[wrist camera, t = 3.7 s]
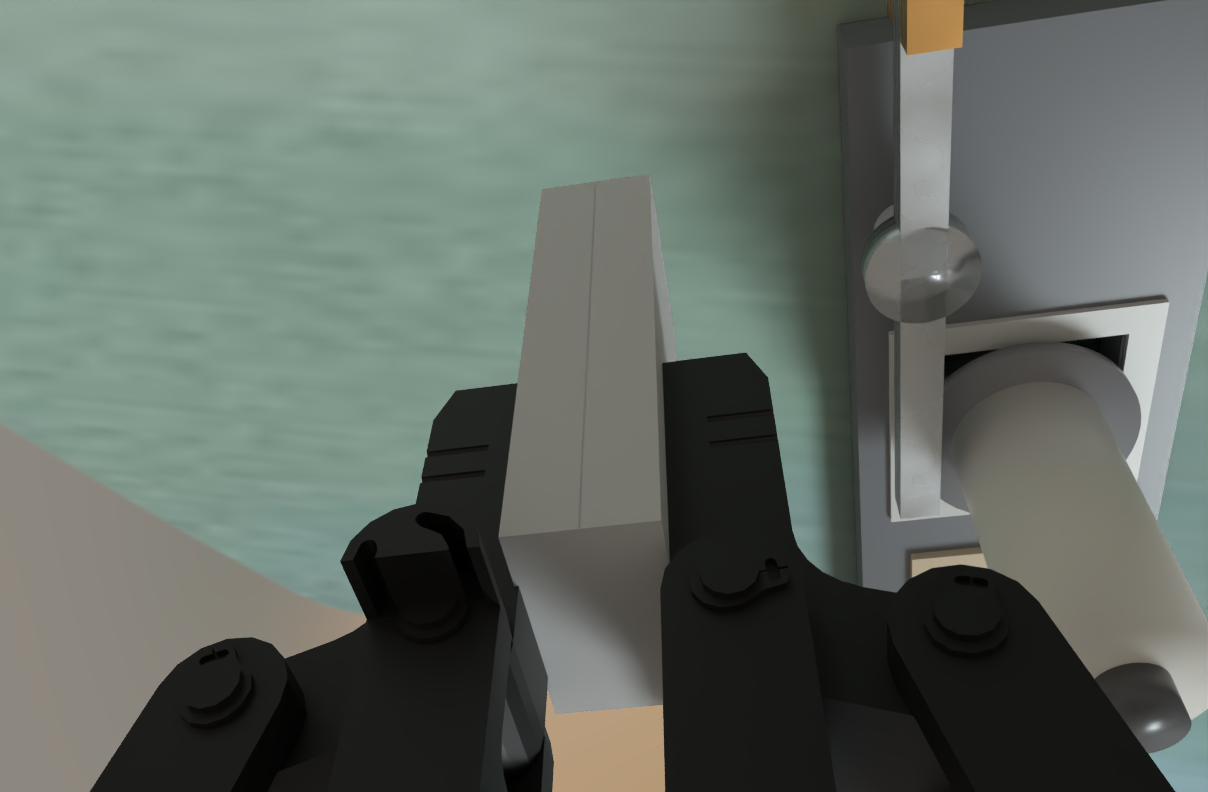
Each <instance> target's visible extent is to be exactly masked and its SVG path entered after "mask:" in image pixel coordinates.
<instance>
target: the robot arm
mask: <svg viewBox="0 0 1208 792" xmlns="http://www.w3.org/2000/svg"><path fill="white" fill-rule="evenodd" d="M427 455H428V457H427V458H425V463H424V468H423V472H422V483H420V486H419V491H418V496H417V501H416V504H414V505H410V506H406V507H402V508H398V509H394V510H392V511H390V512H388V513H387V514H385V515H383V516H381V517H379V518H377V519H375V520H374V521H372V522H370V523H369V524H368V525H367V526H366V527H365V528H363V529H362V530H361V531H360V532H359V533H358V534H357V535H356V536H355V537H354V538H353V539H352V540H351V541H350V543H349V545H348V547H347V549H346V551H345V553H344V555H343V557H342V559H341V561H340V562H341V564H342V566H343V569H344V571H345V573H346V575H347V577H348V579H349V582H350V584H351V586H352V588H353V590H354V592H355V595H356V597H357V599H358V601H359V603H360V605H361V608H362V610H363V612H364V614H365V616H366V618H367V621H366V623H365V624H363V625H362V626H360V627H359V628H357V629H356V630H355V631H353V632H351V633H349V634H347V635H345V636H343V637H340V638H338V639H336V640H334V641H331V642H329V643H326V644H324V645H321V646H318V647H315V648H313V649H310V650H307V651H304V652H302V653H299V654H296V655H294V656H291V657H288V658H286V659H285V658H284V657H283V656H282V655H281V654H280V653H279V652H278V650H277V649H276V648H275V647H274V646H273V645H272V644H270V643H267V642H264V641H261V640H258V639H255V638H252V637H251V638H235V639H226V640H223V641H220V642H218V643H215V644H212V645H209V646H207V647H204V648H201V649H200V650H199V651H197V652H195V653H194V654H192V655H191V656H190V657H188V658H187V659H185V660H184V661H182V662H181V663H179V664H178V665H177V666H176V667H175V668H174V669H173V670H172V672H171V673H170V674H169V675H168V676H167V677H166V678H165V679H164V681H163V682H162V683H161V684H160V685H159V686H158V688H157V690H156V691H155V692H154V694H153V696H152V697H151V699H150V700H149V702H148V703H147V705H146V707H145V708H144V709H143V711H142V713H141V714H140V716H139V717H138V719H137V720H136V722H135V723H134V725H133V726H132V728H131V729H130V731H129V732H128V734H127V735H126V737H125V739H124V740H123V742H122V743H121V745H120V746H119V748H118V749H117V751H116V752H115V754H114V756H113V757H112V758H111V760H110V762H109V763H108V765H107V766H106V768H105V769H104V771H103V772H102V774H101V775H100V777H99V778H98V780H97V781H96V783H95V785H94V786H93V788H92V789H91V791H90V792H552V783H553V766H554V761H553V755H552V749H551V743H550V740H549V737H548V734H547V731H546V728H545V714H546V713H545V712H546V699H547V689H548V692H549V695H550V698H551V701H552V704H553V707H554V710H555V713H556V714H559V713H572V712H583V711H595V710H606V709H618V708H628V707H629V708H630V707H641V706H653V705H663V718H664V758H665V792H1175V791H1174V789H1173V788H1172V787H1171V785H1170V784H1169V782H1168V781H1167V780H1166V778H1165V777H1164V775H1163V774H1162V773H1161V771H1160V770H1159V768H1158V767H1157V766H1156V764H1155V763H1154V761H1153V760H1152V759H1151V757H1150V756H1149V754H1148V753H1147V752H1146V750H1145V749H1144V747H1143V746H1142V745H1141V743H1140V742H1139V740H1138V739H1137V738H1136V736H1135V735H1134V734H1133V732H1132V731H1131V729H1130V728H1129V727H1128V725H1127V724H1126V722H1125V721H1124V720H1123V718H1122V717H1121V715H1120V714H1119V713H1118V711H1117V710H1116V708H1115V707H1114V706H1113V704H1112V703H1111V701H1110V700H1109V699H1108V697H1107V696H1106V694H1105V693H1104V692H1103V690H1102V689H1101V687H1100V686H1099V685H1098V683H1097V682H1096V680H1095V679H1094V678H1093V676H1092V675H1091V674H1090V672H1089V671H1088V669H1087V668H1086V667H1085V665H1084V664H1083V662H1082V661H1081V660H1080V658H1079V657H1078V655H1077V654H1076V653H1075V651H1074V650H1073V648H1072V647H1071V646H1070V644H1069V643H1068V641H1067V640H1066V639H1065V637H1064V636H1063V634H1062V633H1061V632H1060V630H1059V629H1058V627H1057V626H1056V625H1055V623H1054V622H1053V620H1052V619H1051V618H1050V616H1049V615H1048V614H1047V612H1046V611H1045V609H1044V608H1043V607H1042V605H1041V604H1040V602H1039V601H1038V600H1037V599H1036V598H1035V597H1034V596H1033V595H1032V594H1031V593H1030V592H1028V591H1027V590H1026V589H1025V588H1024V587H1023V586H1022V585H1021V584H1020V583H1019V582H1018V581H1016V580H1013V579H1011V578H1009V577H1007V576H1005V575H1003V574H1001V573H998V572H996V571H994V570H992V569H988V568H981V567H975V566H969V565H962V564H959V565H952V566H944V567H936V568H931V569H929V570H927V571H925V572H923V573H921V574H919V575H917V576H915V577H912V578H910V579H908V580H907V581H906V583H905V584H904V585H903V586H902V587H901V588H900V589H899V591H898V592H897V593H896V592H890V591H884V590H878V589H872V588H866V587H861V586H857V585H854V584H850V583H846V582H842V581H840V580H838V579H836V578H834V577H832V576H830V575H828V574H826V573H823V572H822V571H821V570H819V569H818V568H817V567H816V566H814V565H813V564H812V563H811V562H809V561H808V560H807V558H806V557H805V556H804V554H803V553H802V552H801V550H800V549H799V547H798V546H797V543H796V540H795V537H794V534H793V531H792V526H791V519H790V513H789V507H788V500H787V494H786V488H785V482H784V475H783V469H782V463H781V456H780V450H779V444H778V439H777V431H776V425H775V419H774V414H773V406H772V400H771V394H770V387H769V381H768V377H767V376H766V375H765V374H764V373H763V372H762V370H761V369H760V368H759V367H758V366H757V365H756V364H755V362H754V361H753V360H752V359H751V358H750V357H749V356H748V354H747V353H739V354H731V355H723V356H715V357H706V358H698V359H690V360H682V361H676V343H675V331H674V325H673V319H672V312H671V306H670V299H669V293H668V287H667V280H666V274H665V267H664V261H663V255H662V248H661V242H660V235H659V229H658V223H657V216H656V210H655V203H654V197H653V190H652V184H651V178H650V174H646V175H639V176H632V177H625V178H618V179H611V180H604V181H597V182H590V183H583V184H576V185H569V186H562V187H555V188H548V189H542V193H541V201H540V209H539V217H538V225H537V233H536V241H535V249H534V257H533V265H532V273H531V281H530V289H529V297H528V305H527V313H526V321H525V329H524V337H523V345H522V353H521V361H520V369H519V377H518V383H516V384H508V385H500V386H491V387H483V388H475V389H467V390H459V391H455V393H454V394H453V395H452V397H451V398H450V399H449V401H448V402H447V403H446V404H445V406H444V407H443V408H442V410H441V411H440V412H439V414H438V415H437V416H436V418H435V419H434V420H433V425H432V430H431V434H430V439H429V444H428V449H427Z"/></svg>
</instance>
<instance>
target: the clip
mask: <svg viewBox="0 0 1208 792" xmlns="http://www.w3.org/2000/svg"><path fill="white" fill-rule="evenodd" d="M963 14H964V0H887V15H888V17H889V19H890V21H891V23H892V25H893V202H894V216H892V217H890V218H888V219H887V220H885V221H884V222H883V223H881V224H880V225H879V226H878V227H877V228H876V229H875V230H874V231H873V232H872V233H871V235H870V236H869V237H868V239H867V241H866V242H865V244H864V247H863V249H862V253H861V258H860V267H861V273H862V276H863V280H864V283H865V287H866V290H867V293H868V297H869V299H870V301H871V303H872V304H873V305H874V307H875V308H876V309H877V310H878V311H879V312H880V313H882V314H883V315H885V316H886V317H888V318H890V319H893V320H894V414H895V499H896V503H897V507H898V511H899V515H900V519H907V518H917V517H927V516H937V515H940V488H941V455H942V422H943V389H944V356H945V324H946V316H948V315H950V314H952V313H953V312H955V311H956V310H958V309H959V308H960V307H962V306H963V305H964V304H965V303H966V302H967V301H968V300H969V299H970V298H971V296H972V295H973V294H974V292H975V291H976V289H977V287H978V285H979V282H980V279H981V275H982V261H981V257H980V254H979V251H978V249H977V247H976V245H975V243H974V240H973V238H972V236H971V234H970V232H969V230H968V228H967V227H966V225H965V224H964V223H963V222H962V221H961V220H960V219H959V218H958V217H956V216H954V215H953V214H951V213H949V192H950V159H951V127H952V94H953V61H954V48H961V47H962V42H963Z"/></svg>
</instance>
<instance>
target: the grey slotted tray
mask: <svg viewBox="0 0 1208 792" xmlns="http://www.w3.org/2000/svg"><path fill="white" fill-rule="evenodd" d="M837 34H838V61H839V89H840V117H841V144H842V172H843V200H844V227H845V255H846V282H847V310H848V338H849V365H850V393H851V420H852V448H853V476H854V503H855V531H856V558H857V586H861V587H866V588H872V589H878V590H884V591H890V592H896V593H897V592H898V591H899V589H900V588H901V587H902V586H903V585H904V584H905V583H906V581H907V580H908V579H910V578H912V577H915V576H917V575H919V574H921V573H923V572H925V571H927V570H929V569H931V568H936V567H944V566H952V565H959V564H962V565H969V566H975V567H981V568H988V567H987V564H986V561H985V558H984V555H983V552H982V549H981V546H980V543H979V540H978V537H977V534H976V531H975V528H974V525H973V522H972V518H971V515H970V513H969V512H966V511H963V510H960V509H958V508H955V507H953V506H951V505H949V504H947V503H946V502H944V501H943V500H941V499H940V515H937V516H927V517H917V518H907V519H900V515H899V511H898V507H897V503H896V499H895V414H894V320H893V319H890V318H888V317H886V316H885V315H883V314H882V313H880V312H879V311H878V310H877V309H876V308H875V307H874V305H873V304H872V303H871V301H870V299H869V297H868V293H867V290H866V287H865V283H864V280H863V276H862V273H861V267H860V258H861V253H862V249H863V247H864V244H865V242H866V241H867V239H868V237H869V236H870V235H871V233H872V232H873V231H874V230H875V229H876V228H877V227H878V226H879V225H880V224H881V223H883V222H884V221H885V220H887V219H888V218H890V217H892V216H894V202H893V25H892V23H891V21H890V19H889V17H887V18H880V19H874V20H867V21H861V22H854V23H848V24H841V25H837ZM949 213H951V214H953V215H954V216H956V217H958V218H959V219H960V220H961V221H962V222H963V223H964V224H965V225H966V227H967V228H968V230H969V232H970V234H971V236H972V238H973V240H974V243H975V245H976V247H977V249H978V251H979V254H980V257H981V261H982V275H981V279H980V282H979V285H978V287H977V289H976V291H975V292H974V294H973V295H972V296H971V298H970V299H969V300H968V301H967V302H966V303H965V304H964V305H963V306H962V307H960V308H959V309H958V310H956V311H955V312H953V313H952V314H950V315H948V316H946V324H945V355H951V354H960V353H968V352H977V351H986V350H995V349H1002V348H1006V347H1010V346H1014V345H1019V344H1025V343H1034V342H1064V341H1073V340H1082V339H1090V338H1099V337H1101V341H1100V348H1099V353H1100V354H1102V355H1103V356H1105V357H1107V358H1108V359H1110V360H1111V361H1112V362H1113V363H1115V364H1116V365H1117V366H1118V367H1119V368H1120V369H1121V370H1122V371H1123V373H1124V374H1125V375H1126V376H1127V378H1128V380H1129V382H1130V384H1131V385H1132V387H1133V389H1134V391H1135V393H1136V395H1137V397H1138V400H1139V404H1140V408H1141V427H1140V431H1139V435H1138V439H1137V441H1136V443H1135V446H1134V448H1133V450H1132V451H1131V453H1130V455H1129V456H1128V458H1127V459H1126V462H1127V463H1128V465H1129V467H1130V469H1131V471H1132V473H1133V475H1134V477H1135V479H1136V481H1137V483H1138V485H1139V487H1140V489H1141V491H1142V493H1143V495H1144V497H1145V499H1146V501H1147V503H1148V505H1149V507H1150V509H1151V511H1152V513H1153V515H1154V516H1155V518H1156V520H1157V519H1158V514H1159V509H1160V504H1161V499H1162V494H1163V489H1164V484H1165V480H1166V475H1167V470H1168V465H1169V460H1170V455H1171V450H1172V445H1173V440H1174V435H1175V430H1176V425H1177V420H1178V415H1179V410H1180V405H1181V401H1182V396H1183V391H1184V386H1185V381H1186V376H1187V371H1188V366H1189V361H1190V356H1191V351H1192V346H1193V341H1194V336H1195V331H1196V326H1197V322H1198V317H1199V312H1200V307H1201V302H1202V297H1203V292H1204V287H1205V282H1206V277H1207V272H1208V0H999V1H992V2H986V3H979V4H972V5H966V6H964V14H963V42H962V47H961V48H954V61H953V94H952V127H951V159H950V192H949Z"/></svg>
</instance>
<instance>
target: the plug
mask: <svg viewBox="0 0 1208 792" xmlns="http://www.w3.org/2000/svg"><path fill="white" fill-rule="evenodd" d="M1140 427H1141V408H1140V404H1139V400H1138V397H1137V395H1136V393H1135V391H1134V389H1133V387H1132V385H1131V384H1130V382H1129V380H1128V378H1127V376H1126V375H1125V374H1124V373H1123V371H1122V370H1121V369H1120V368H1119V367H1118V366H1117V365H1116V364H1115V363H1113V362H1112V361H1111V360H1110V359H1108V358H1107V357H1105V356H1103V355H1102V354H1100V353H1098V352H1095V351H1093V350H1091V349H1088V348H1085V347H1082V346H1078V345H1074V344H1068V343H1062V342H1034V343H1025V344H1019V345H1014V346H1010V347H1006V348H1002V349H995V350H986V351H977V352H968V353H960V354H953V355H952V356H951V357H950V358H949V359H948V360H947V362H946V363H945V364H944V389H943V422H942V455H941V488H940V499H941V500H943V501H944V502H946V503H947V504H949V505H951V506H953V507H955V508H958V509H960V510H963V511H966V512H969V513H970V515H971V518H972V522H973V525H974V528H975V531H976V534H977V537H978V540H979V543H980V546H981V549H982V552H983V555H984V558H985V561H986V564H987V567H988V569H992V570H994V571H996V572H998V573H1001V574H1003V575H1005V576H1007V577H1009V578H1011V579H1013V580H1016V581H1018V582H1019V583H1020V584H1021V585H1022V586H1023V587H1024V588H1025V589H1026V590H1027V591H1028V592H1030V593H1031V594H1032V595H1033V596H1034V597H1035V598H1036V599H1037V600H1038V601H1039V602H1040V604H1041V605H1042V607H1043V608H1044V609H1045V611H1046V612H1047V614H1048V615H1049V616H1050V618H1051V619H1052V620H1053V622H1054V623H1055V625H1056V626H1057V627H1058V629H1059V630H1060V632H1061V633H1062V634H1063V636H1064V637H1065V639H1066V640H1067V641H1068V643H1069V644H1070V646H1071V647H1072V648H1073V650H1074V651H1075V653H1076V654H1077V655H1078V657H1079V658H1080V660H1081V661H1082V662H1083V664H1084V665H1085V667H1086V668H1087V669H1088V671H1089V672H1090V674H1091V675H1092V676H1093V678H1094V679H1095V680H1096V682H1097V683H1098V685H1099V686H1100V687H1101V689H1102V690H1103V692H1104V693H1105V694H1106V696H1107V697H1108V699H1109V700H1110V701H1111V703H1112V704H1113V706H1114V707H1115V708H1116V710H1117V711H1118V713H1119V714H1120V715H1121V717H1122V718H1123V720H1124V721H1125V722H1126V724H1127V725H1128V727H1129V728H1130V729H1131V731H1132V732H1133V734H1134V735H1135V736H1136V738H1137V739H1138V740H1139V742H1140V743H1141V745H1142V746H1143V747H1144V749H1145V750H1146V752H1147V753H1153V752H1157V751H1160V750H1163V749H1166V748H1168V747H1170V746H1172V745H1174V744H1176V743H1178V742H1179V741H1180V740H1182V739H1183V738H1184V737H1185V736H1186V735H1187V733H1188V732H1189V730H1190V728H1191V720H1192V719H1194V718H1195V717H1197V716H1199V715H1200V714H1201V713H1203V712H1204V711H1205V710H1207V709H1208V620H1207V619H1206V617H1205V615H1204V613H1203V611H1202V609H1201V607H1200V605H1199V603H1198V601H1197V599H1196V597H1195V595H1194V593H1193V591H1192V589H1191V587H1190V585H1189V583H1188V581H1187V579H1186V577H1185V575H1184V573H1183V571H1182V569H1181V567H1180V566H1179V564H1178V562H1177V560H1176V558H1175V556H1174V554H1173V552H1172V550H1171V548H1170V546H1169V544H1168V542H1167V540H1166V538H1165V536H1164V534H1163V532H1162V530H1161V528H1160V526H1159V524H1158V522H1157V520H1156V518H1155V516H1154V515H1153V513H1152V511H1151V509H1150V507H1149V505H1148V503H1147V501H1146V499H1145V497H1144V495H1143V493H1142V491H1141V489H1140V487H1139V485H1138V483H1137V481H1136V479H1135V477H1134V475H1133V473H1132V471H1131V469H1130V467H1129V465H1128V463H1127V462H1126V459H1127V458H1128V456H1129V455H1130V453H1131V451H1132V450H1133V448H1134V446H1135V443H1136V441H1137V439H1138V435H1139V431H1140Z"/></svg>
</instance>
